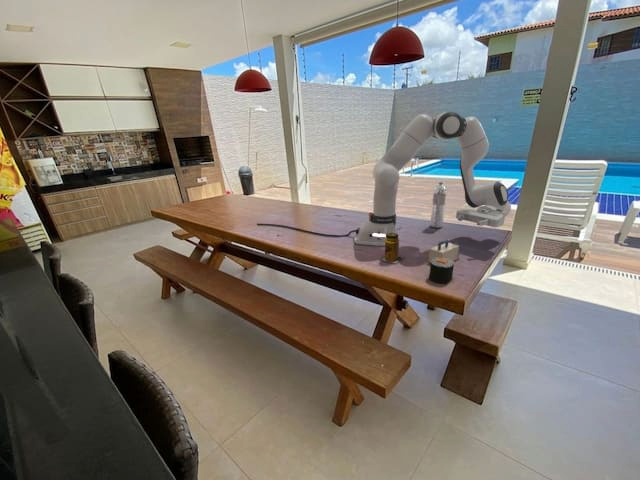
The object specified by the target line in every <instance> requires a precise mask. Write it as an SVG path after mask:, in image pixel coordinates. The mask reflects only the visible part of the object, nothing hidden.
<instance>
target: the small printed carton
mask: <svg viewBox="0 0 640 480" xmlns="http://www.w3.org/2000/svg"><path fill="white" fill-rule="evenodd" d="M460 249H461V245H459V244H456V243H453V242H450V241H449V239H445V240H441V241H439V242H438V244H437V245H436V246H433V247H431V248H429V253H428V263H430V264H431V260H432V259H433V258H444V259H449V260H451V261H452V260H453V261H454V262H455V261H457V260H459V255H460Z"/></svg>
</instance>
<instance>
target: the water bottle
mask: <svg viewBox="0 0 640 480" xmlns="http://www.w3.org/2000/svg"><path fill="white" fill-rule="evenodd" d="M443 183H444V182H443V181H439V182H438V185H436V186H435V187H434V189H433V192H432V193H433V195H432V203H431V211H430V221H429V222H430V225H429V226H430V227H431V228H433V229H441V228H442V227H443V226H444V217H445V209H446V199H447V188H446V187H445V186H444V185H443Z"/></svg>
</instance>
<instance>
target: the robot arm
mask: <svg viewBox="0 0 640 480" xmlns="http://www.w3.org/2000/svg"><path fill="white" fill-rule="evenodd" d="M431 137H433V138H435V139H438V140H451V139H455V140H456V141H457V142H458V145H459V148H460V151H461V159H460V160H459V172H460V177H461V180H462V181H461V182H462V185H463V186H462V187H463V189H464V190H463V191H464V201H465V203H466V205H468V206H469V207H470V208H473V209H470V208H463V209H459V210H457V211H456V212H455V218H456V219H457V221H459V222H462V221H466V222H469V223H473V224H476V225H477V226H487V227H488V226H489V227H492V228H499V227H501V226H503V225H504V223H505V221H506V217H507V216H508V215H509V214H510V213H511V210H512V204H511V203H510V202H509V201H508V200H509V192H508V188H507V186H506V185H504V183H502V182H501V181H495V182H489V183H487V184H483V185H476V181H475V176H474V168H475V166H476V165H477V164H478V163H479V162H481V161H482V160H483V159H485V157H486V156H487V154H488V152H489V150H490V143H489V140H488V137H487V133H486V132H485V130H484V128H483V126H482V124H481V122H480V120H478V118H477V117H476V116H468V117H463V116H462V115H461V114H459V113H457V112H455V111H443V112H440V113H439V114H436V115H435V116H433V117H431V116H429V115H428V114H425V113H420V114H417V115H416V116H415V117H414V118H413V119H412V120H411V121H410V122H409V123H408V124H407V126H406V127H405V128H404V129H403V130H402V132H401V133H400V135H399V136H398V137H397V139H396V140H395V142H394V143H393V144H392V145H391V146H390V148H389V149H388V150H387V151H386V152H385V153H384V155H382V157H381V158H380V159H379V160H378V161H377V163H376V164H375V165H374V166H373V168H372V178H373V179H374V190H373V191H374V193H373V201H372V202H373V205H372V206H373V207H372V208H373V209H372V210H373V211H372V212H371V211H370V212H368V221H367V222H365V223H364V224H362V225H361V226H360V227H358V228H357V229H354V230H350V231H349V232H348V233H347V234H328V233H327V234H326V233H320V232H315V231H311V230H306V229H303V228H298V227H294V226H289V225H284V224H283V225H282V224H274V223H256V226H271V227H281V228H287V229H291V230H295V231H300V232H304V233H308V234H313V235H319V236H324V237H334V238H342V237H349V236H350V235H351V233H355V236H354V239H353V242H354V243H355V244H356V245H362V246H363V245H365V246H375V247H385V240H386V234H388V233H396V234H397V229H396V224H397V213H396V207H397V196H398V195H397V194H398V189H399V184H400V183H399V181H400V171H401V170H402V169H403V168H405V166H406V165H407V164H409V163H410V162H411V161H412V160H413V159H414V158H415V156H416V154H417V153H418V152H419V151H420V149H421V148H422V147H423V146H424V144H425V143H426V141H428V140H429V139H430V138H431Z"/></svg>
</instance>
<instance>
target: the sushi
mask: <svg viewBox="0 0 640 480" xmlns="http://www.w3.org/2000/svg"><path fill="white" fill-rule="evenodd" d="M454 267H455V261H453V260H452V261H451V260H449V259H444V258H433V259H432V260H431V263H430V267H429V276H428V278H429V280H431V281H432V282H434V283H437V284H443V285H444V284H448V283H450V282H451V281H452V280H453V273H454Z"/></svg>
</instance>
